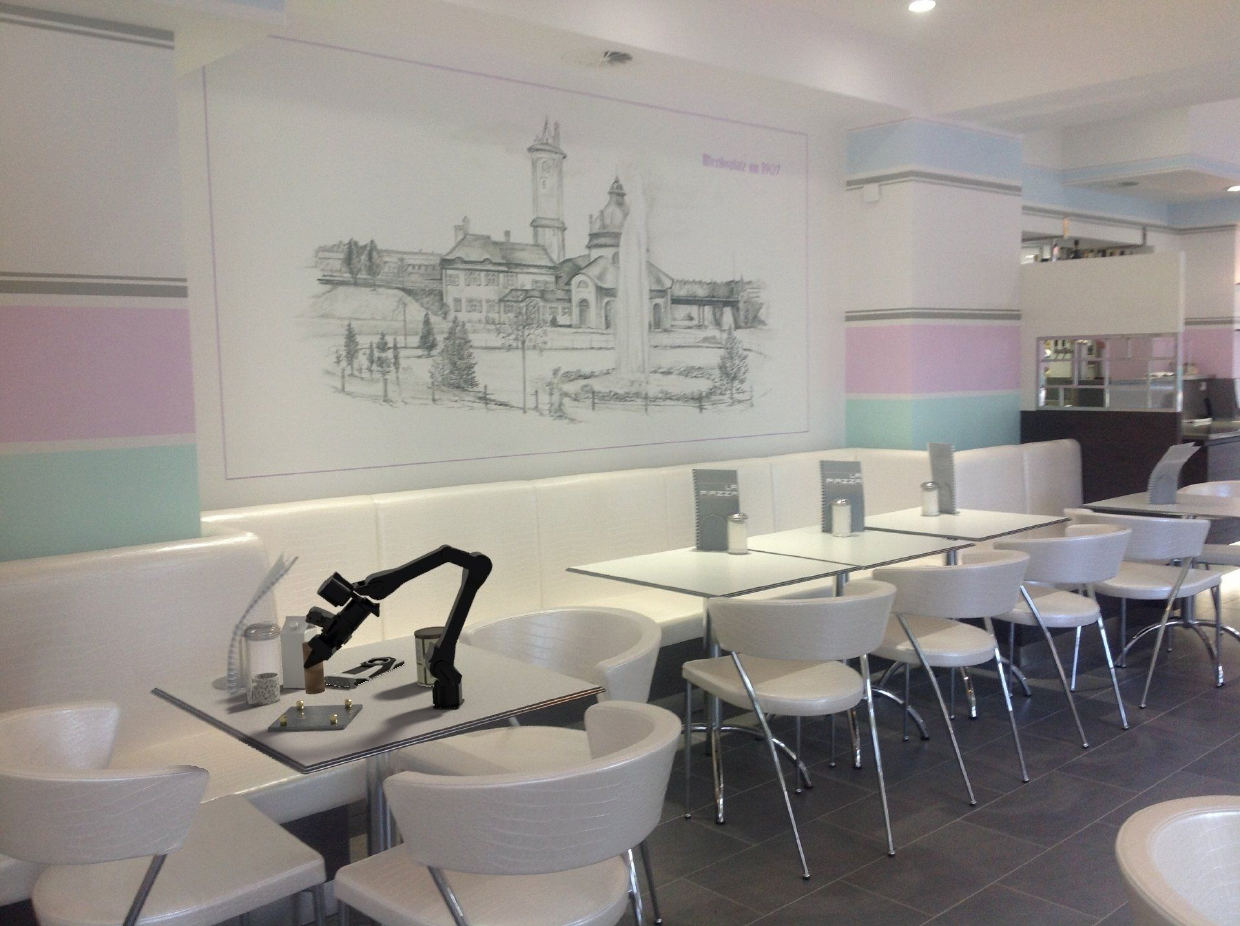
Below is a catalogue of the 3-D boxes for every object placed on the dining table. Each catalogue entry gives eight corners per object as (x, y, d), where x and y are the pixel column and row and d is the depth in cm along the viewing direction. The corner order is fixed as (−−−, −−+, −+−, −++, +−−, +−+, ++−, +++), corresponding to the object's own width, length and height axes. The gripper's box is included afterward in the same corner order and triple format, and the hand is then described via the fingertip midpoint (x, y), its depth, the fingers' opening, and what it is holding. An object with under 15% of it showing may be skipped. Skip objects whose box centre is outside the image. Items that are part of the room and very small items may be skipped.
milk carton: (296, 681, 291) (292, 613, 290) (320, 681, 289) (316, 613, 288) (283, 688, 284) (278, 618, 283) (307, 689, 282) (303, 618, 281)
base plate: (362, 708, 263) (362, 697, 263) (344, 728, 247) (343, 717, 247) (291, 710, 264) (290, 699, 263) (268, 731, 248) (267, 719, 247)
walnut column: (327, 688, 257) (324, 640, 256) (320, 694, 252) (317, 644, 252) (309, 689, 257) (306, 640, 257) (302, 694, 253) (299, 645, 252)
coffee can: (445, 674, 291) (442, 624, 290) (462, 682, 283) (459, 630, 282) (410, 681, 285) (407, 630, 284) (426, 689, 277) (423, 636, 276)
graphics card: (323, 676, 284) (379, 652, 307) (324, 688, 284) (379, 664, 307) (354, 678, 280) (408, 654, 303) (354, 691, 281) (408, 666, 303)
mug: (265, 696, 277) (263, 671, 277) (285, 698, 275) (284, 673, 274) (238, 707, 268) (236, 682, 267) (259, 710, 265) (257, 684, 265)
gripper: (336, 587, 262) (294, 633, 263) (313, 603, 244) (269, 652, 245) (369, 617, 263) (328, 663, 264) (349, 635, 244) (305, 684, 245)
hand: (307, 664), depth 254 cm, fingers closed on walnut column, 4 cm apart
